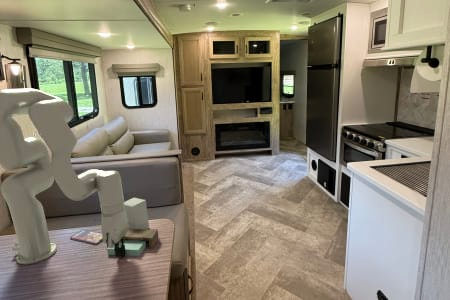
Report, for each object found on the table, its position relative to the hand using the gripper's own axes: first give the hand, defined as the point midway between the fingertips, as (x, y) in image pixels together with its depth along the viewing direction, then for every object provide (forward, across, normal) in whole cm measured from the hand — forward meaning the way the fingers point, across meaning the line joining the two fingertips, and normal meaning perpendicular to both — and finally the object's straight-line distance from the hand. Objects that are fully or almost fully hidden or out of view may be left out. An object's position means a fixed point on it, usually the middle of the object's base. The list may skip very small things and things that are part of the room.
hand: (120, 255), depth 104 cm
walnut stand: (+1, -10, 0) cm, 10 cm away
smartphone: (+2, -13, -20) cm, 24 cm away
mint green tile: (+1, -5, 0) cm, 5 cm away
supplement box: (+1, -20, -3) cm, 20 cm away
